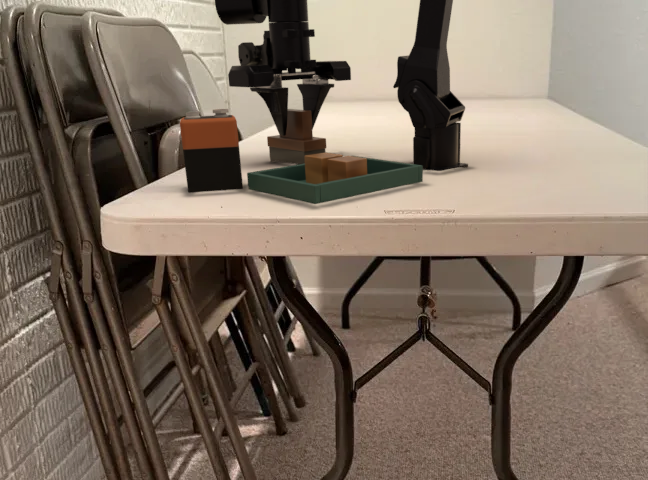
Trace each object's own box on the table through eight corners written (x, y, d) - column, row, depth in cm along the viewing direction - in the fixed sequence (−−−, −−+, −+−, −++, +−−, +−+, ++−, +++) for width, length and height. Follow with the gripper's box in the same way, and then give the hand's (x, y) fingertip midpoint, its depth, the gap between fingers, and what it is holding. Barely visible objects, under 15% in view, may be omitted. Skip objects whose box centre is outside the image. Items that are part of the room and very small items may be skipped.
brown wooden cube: (326, 179, 95) (325, 152, 94) (343, 182, 93) (342, 154, 91) (305, 183, 93) (304, 155, 92) (322, 186, 90) (321, 158, 89)
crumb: (349, 183, 92) (348, 155, 91) (367, 186, 89) (367, 158, 88) (328, 187, 90) (327, 159, 88) (346, 191, 87) (345, 161, 86)
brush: (290, 159, 115) (286, 107, 112) (327, 165, 109) (324, 110, 106) (268, 162, 113) (264, 109, 110) (305, 168, 106) (302, 112, 103)
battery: (243, 192, 91) (235, 110, 87) (188, 196, 89) (178, 112, 86) (241, 186, 95) (234, 107, 91) (188, 189, 93) (179, 109, 90)
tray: (353, 173, 102) (352, 155, 101) (422, 185, 92) (422, 165, 91) (248, 192, 91) (246, 172, 90) (315, 208, 81) (314, 185, 80)
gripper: (305, 23, 115) (311, 124, 120) (202, 24, 103) (214, 136, 109) (351, 21, 107) (355, 129, 113) (245, 22, 95) (256, 142, 101)
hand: (295, 133), depth 109 cm, fingers open, 5 cm apart
